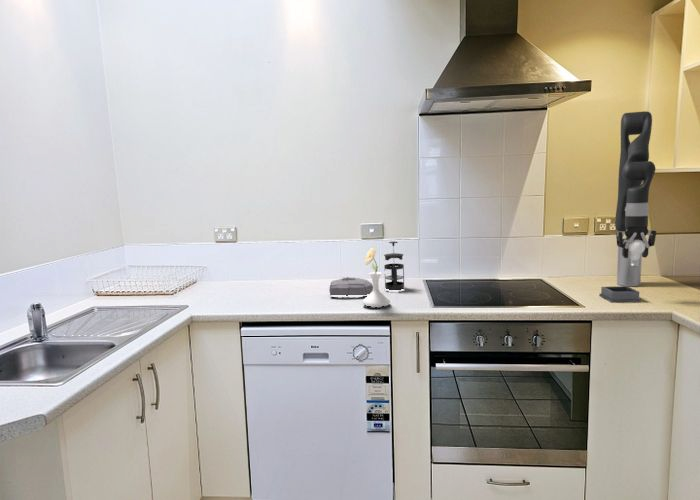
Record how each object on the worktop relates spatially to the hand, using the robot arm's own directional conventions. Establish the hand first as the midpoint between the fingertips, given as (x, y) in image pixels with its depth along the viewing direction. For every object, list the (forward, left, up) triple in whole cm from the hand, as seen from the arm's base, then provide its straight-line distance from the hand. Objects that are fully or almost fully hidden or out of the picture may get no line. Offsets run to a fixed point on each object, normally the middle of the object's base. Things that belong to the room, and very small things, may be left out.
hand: (634, 257), depth 183 cm
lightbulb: (0, 0, -4) cm, 4 cm away
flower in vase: (+4, -101, -17) cm, 102 cm away
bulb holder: (-3, -4, -17) cm, 18 cm away
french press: (-26, -94, -17) cm, 99 cm away
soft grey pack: (-17, -113, -18) cm, 116 cm away
